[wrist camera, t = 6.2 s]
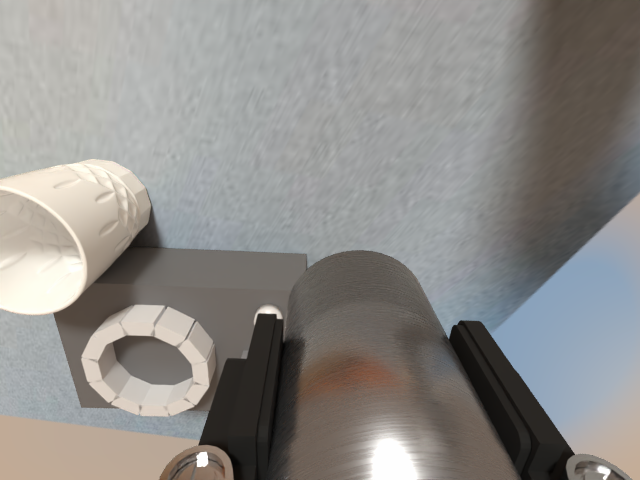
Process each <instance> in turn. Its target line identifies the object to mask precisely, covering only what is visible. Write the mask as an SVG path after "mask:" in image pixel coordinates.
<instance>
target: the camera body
mask: <svg viewBox="0 0 640 480" xmlns="http://www.w3.org/2000/svg"><path fill="white" fill-rule="evenodd" d="M305 271H306V254H293V253H269V252H245V251H221V250H197V249H173V248H149V247H127V248H126V249H125V251H124V252H123V253H122V254H121V255H120V256H119V257H118V258H117V259H116V260H115V261H114V263H113V264H112V265H111V266H110V267H109V268H108V269H107V270H106V271H105V272H104V273H103V274H102V275H101V276H100V277H99V278H98V279H97V280H96V281H95V282H94V283H93V284H92V285H91V286H90V287H89V288H88V289H87V290H86V291H85V292H84V293H83V294H82V295H81V296H80V297H79V298H78V299H77V300H76V301H75V302H74V303H72V304H71V305H70V306H68V307H66V308H65V309H63V310H60V311H58V312H55V313H53V314H54V317H55V321H56V324H57V327H58V331H59V334H60V337H61V341H62V344H63V347H64V351H65V354H66V357H67V361H68V364H69V367H70V371H71V374H72V377H73V381H74V384H75V388H76V391H77V394H78V398H79V401H80V404H81V407H84V408H121V409H124V410H126V411H129V412H131V413H134V414H136V415H138V414H139V412H140V414H141V416H169V415H171V416H173V415H175V414H178V413H180V412H182V411H185V410H199V411H210V408H211V405H212V402H213V398H214V395H215V392H216V389H217V386H218V383H219V380H220V377H221V374H222V371H223V367H224V364H225V362H226V360H227V358H242V359H247V355H248V351H249V347H250V343H251V339H252V335H253V331H254V327H255V323H256V319H257V315H258V313H266V314H277V319H283V321H284V324H283V336H284V328H285V320H286V312H287V304H288V299H289V295H290V293H291V290H292V288H293V286H294V285H295V283H296V281H297V280H298V279H299V277H300V276H301V275H302V274H303V273H304V272H305Z"/></svg>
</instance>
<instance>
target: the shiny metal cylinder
mask: <svg viewBox="0 0 640 480" xmlns="http://www.w3.org/2000/svg"><path fill="white" fill-rule="evenodd" d="M265 480H522V479H521V477H520V475H519V473H518V471H517V469H516V468H515V466H514V464H513V462H512V460H511V458H510V456H509V454H508V452H507V450H506V448H505V446H504V445H503V443H502V441H501V439H500V437H499V435H498V433H497V431H496V429H495V427H494V425H493V423H492V421H491V420H490V418H489V416H488V414H487V412H486V410H485V408H484V406H483V404H482V402H481V400H480V398H479V397H478V395H477V393H476V391H475V389H474V387H473V385H472V383H471V381H470V379H469V377H468V375H467V373H466V372H465V370H464V368H463V366H462V364H461V362H460V360H459V358H458V356H457V354H456V352H455V350H454V349H453V347H452V345H451V343H450V341H449V339H448V337H447V335H446V333H445V331H444V329H443V327H442V325H441V324H440V322H439V320H438V318H437V316H436V314H435V312H434V310H433V308H432V306H431V304H430V302H429V301H428V299H427V297H426V295H425V293H424V291H423V289H422V287H421V285H420V283H419V282H418V280H417V278H416V277H415V275H414V274H413V273H412V272H411V271H410V270H409V269H408V268H407V267H406V266H405V265H404V264H402V263H401V262H399V261H398V260H396V259H394V258H392V257H390V256H387V255H384V254H382V253H377V252H373V251H364V250H357V251H346V252H341V253H337V254H333V255H331V256H328V257H326V258H324V259H322V260H320V261H318V262H316V263H315V264H313V265H312V266H311V267H309V268H308V269H307V270H306V271H305V272H304V273H303V274H302V275H301V276H300V277H299V279H298V280H297V281H296V283H295V285H294V286H293V288H292V290H291V293H290V295H289V299H288V304H287V312H286V320H285V328H284V336H283V349H282V358H281V366H280V374H279V382H278V390H277V398H276V406H275V415H274V423H273V431H272V439H271V447H270V455H269V463H268V471H267V474H266V479H265Z"/></svg>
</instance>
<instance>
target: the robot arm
mask: <svg viewBox="0 0 640 480" xmlns="http://www.w3.org/2000/svg"><path fill="white" fill-rule="evenodd" d="M283 324H284V321H283V319H277V314H266V313H258V315H257V319H256V323H255V327H254V331H253V335H252V339H251V343H250V347H249V351H248V355H247V359H242V358H227V360H226V362H225V364H224V367H223V371H222V374H221V377H220V380H219V383H218V386H217V389H216V392H215V395H214V398H213V402H212V405H211V408H210V411H209V414H208V417H207V420H206V423H205V426H204V429H203V433H202V436H201V439H200V442H199V445H198V446H194V447H192V448H189V449H186V450H184V451H183V452H181V453H180V454H178V455H177V456H175V457H174V458H173V459H172V460H171V461H170V462H169V463H168V465H167V466H166V467H165V469H164V471H163V472H162V474H161V476H160V479H159V480H265V479H266V474H267V471H268V463H269V455H270V447H271V439H272V431H273V423H274V415H275V406H276V398H277V390H278V382H279V374H280V366H281V358H282V349H283ZM449 341H450V343H451V345H452V347H453V349H454V350H455V352H456V354H457V356H458V358H459V360H460V362H461V364H462V366H463V368H464V370H465V372H466V373H467V375H468V377H469V379H470V381H471V383H472V385H473V387H474V389H475V391H476V393H477V395H478V397H479V398H480V400H481V402H482V404H483V406H484V408H485V410H486V412H487V414H488V416H489V418H490V420H491V421H492V423H493V425H494V427H495V429H496V431H497V433H498V435H499V437H500V439H501V441H502V443H503V445H504V446H505V448H506V450H507V452H508V454H509V456H510V458H511V460H512V462H513V464H514V466H515V468H516V469H517V471H518V473H519V475H520V477H521V479H522V480H632V479H631V478H630V477H629V476H628V475H627V474H626V473H624V472H623V471H622V470H620V469H619V468H618V467H617V466H615V465H613V464H611V463H609V462H608V461H606V460H604V459H601V458H598V457H596V456H593V455H587V454H578V455H575V454H574V452H573V451H572V450H571V448H570V447H569V445H568V444H567V442H566V441H565V440H564V438H563V437H562V435H561V434H560V432H559V431H558V430H557V428H556V427H555V425H554V424H553V422H552V421H551V420H550V418H549V417H548V415H547V414H546V412H545V411H544V410H543V408H542V407H541V406H540V404H539V402H538V401H537V400H536V398H535V397H534V395H533V394H532V392H531V391H530V389H529V388H528V387H527V385H526V384H525V382H524V381H523V380H522V378H521V377H520V375H519V374H518V373H517V372H516V371H515V369H514V368H513V367H512V365H511V364H510V362H509V361H508V359H507V358H506V357H505V355H504V354H503V352H502V351H501V349H500V348H499V347H498V345H497V344H496V342H495V341H494V339H493V338H492V336H491V335H490V334H489V332H488V331H487V329H486V328H485V326H484V325H483V324H482V323H481V322H480V321H462V320H461V321H459V323H458V325H454V326H453V327H452V330H451V334H450V338H449Z"/></svg>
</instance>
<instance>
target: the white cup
mask: <svg viewBox="0 0 640 480" xmlns="http://www.w3.org/2000/svg"><path fill="white" fill-rule="evenodd" d="M150 210H151V203H150V200H149V197H148V194H147V191H146V188H145V186H144V185H143V184H142V183H141V182H140V181H139V179H138V178H137V177H136V176H135V175H134V173H133V172H132V171H130V170H128V169H126V168H124V167H122V166H121V165H119V164H117V163H115V162H113V161H106V160H97V159H90V160H86V161H82V162H78V163H75V164H66V165H59V166H54V167H50V168H45V169H40V170H35V171H30V172H26V173H22V174H18V175H14V176H10V177H6V178H2V179H0V309H2V310H5V311H9V312H13V313H17V314H23V315H45V314H51V313H55V312H58V311H60V310H63V309H65V308H66V307H68V306H70V305H71V304H72V303H74V302H75V301H76V300H77V299H78V298H79V297H80V296H81V295H82V294H83V293H84V292H85V291H86V290H87V289H88V288H89V287H90V286H91V285H92V284H93V283H94V282H95V281H96V280H97V279H98V278H99V277H100V276H101V275H102V274H103V273H104V272H105V271H106V270H107V269H108V268H109V267H110V266H111V265H112V264H113V263H114V261H115V260H116V259H117V258H118V257H119V256H120V255H121V254H122V253H123V252H124V251H125V249H126V248H127V247H128V246H129V245H130V244H131V243H132V240H133V239H134V238H135V237H136V236H137V235H138V234H139V233H140V232H141V231H142V229H143V228H144V227H145V226H146V225H147V224H148V222H149V216H150Z"/></svg>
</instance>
